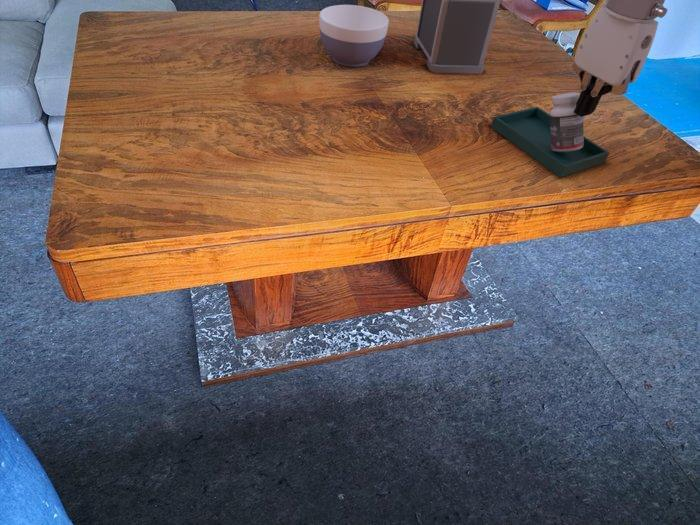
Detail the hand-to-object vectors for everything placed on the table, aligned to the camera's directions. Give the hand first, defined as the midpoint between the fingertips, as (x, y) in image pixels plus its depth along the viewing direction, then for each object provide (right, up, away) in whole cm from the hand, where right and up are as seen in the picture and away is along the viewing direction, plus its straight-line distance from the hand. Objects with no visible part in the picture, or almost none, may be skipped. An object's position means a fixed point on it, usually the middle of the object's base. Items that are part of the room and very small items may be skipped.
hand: (582, 113), depth 91 cm
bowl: (-41, +22, +31) cm, 56 cm away
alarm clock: (-17, +25, +37) cm, 48 cm away
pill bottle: (0, -5, +6) cm, 8 cm away
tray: (-3, -3, +10) cm, 11 cm away
